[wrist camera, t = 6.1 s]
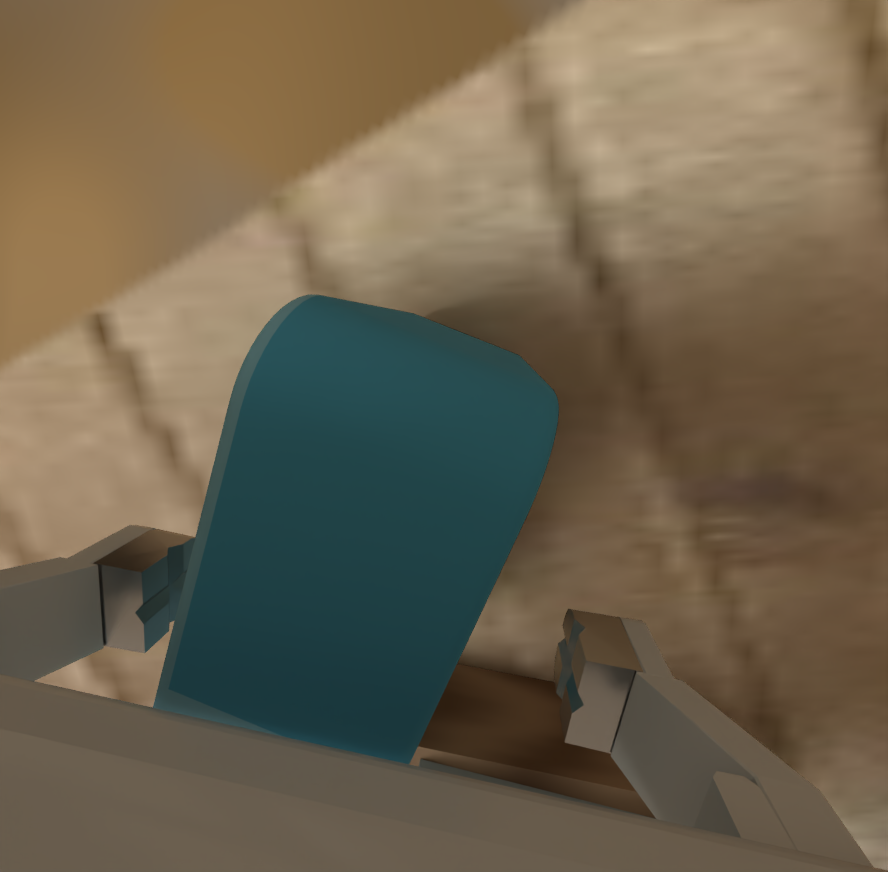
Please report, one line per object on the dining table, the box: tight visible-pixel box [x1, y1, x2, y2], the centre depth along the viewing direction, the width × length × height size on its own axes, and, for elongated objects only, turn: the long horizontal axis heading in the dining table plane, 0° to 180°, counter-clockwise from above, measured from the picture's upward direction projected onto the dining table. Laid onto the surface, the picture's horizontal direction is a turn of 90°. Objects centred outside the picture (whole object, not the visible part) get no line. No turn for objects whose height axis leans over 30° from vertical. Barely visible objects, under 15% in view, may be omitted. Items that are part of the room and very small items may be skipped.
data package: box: [153, 295, 559, 764], centre depth 13 cm, size 12×4×12 cm, turn 159°
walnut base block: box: [409, 664, 656, 819], centre depth 20 cm, size 14×14×5 cm
